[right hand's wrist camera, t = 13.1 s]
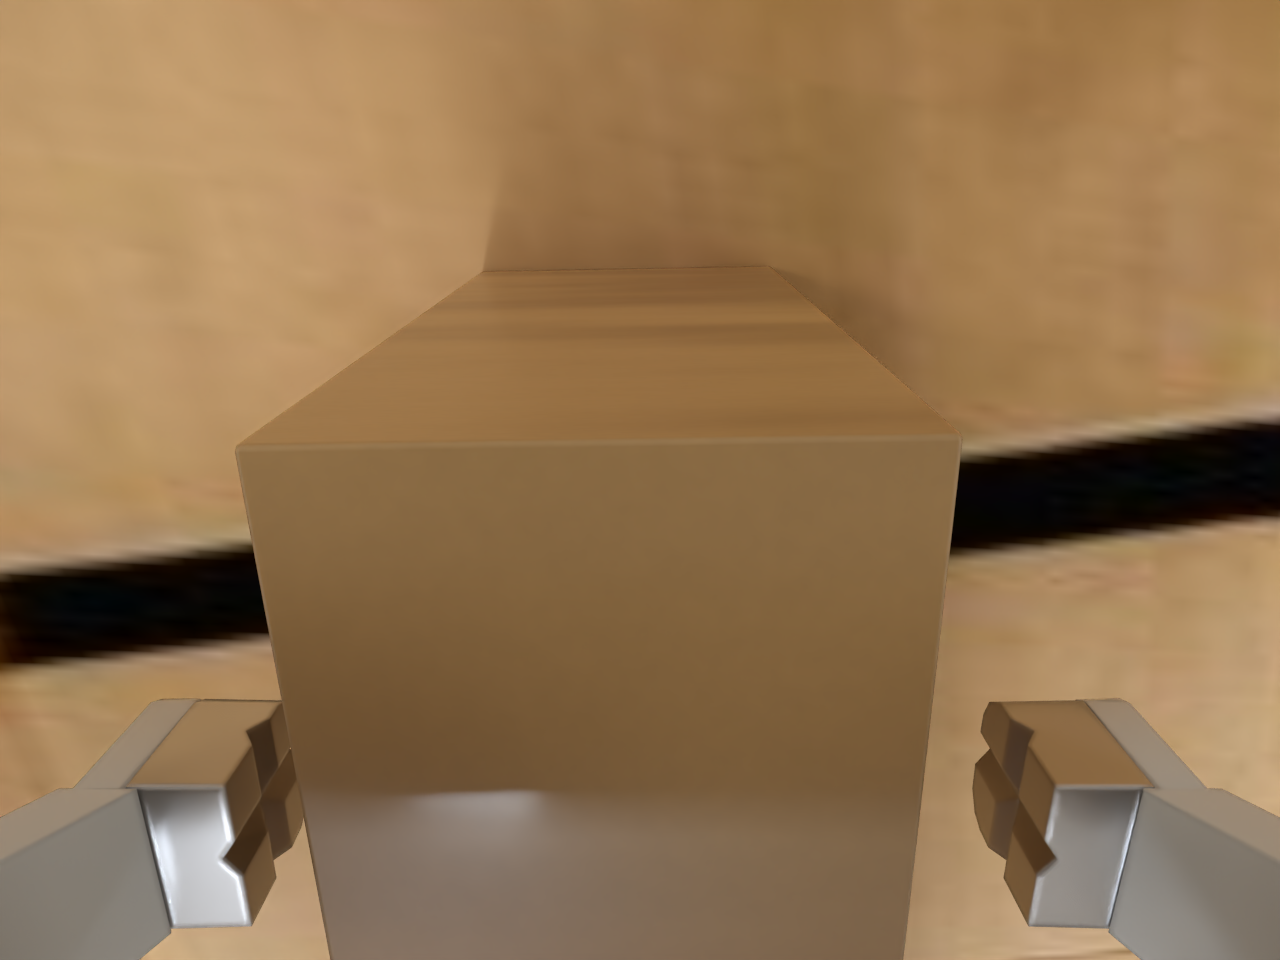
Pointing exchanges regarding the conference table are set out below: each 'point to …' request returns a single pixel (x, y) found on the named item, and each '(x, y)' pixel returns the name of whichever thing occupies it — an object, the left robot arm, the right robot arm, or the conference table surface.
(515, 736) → the box
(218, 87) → the conference table surface
